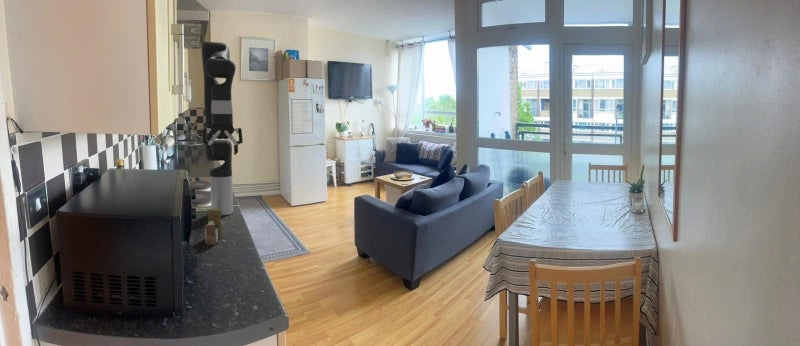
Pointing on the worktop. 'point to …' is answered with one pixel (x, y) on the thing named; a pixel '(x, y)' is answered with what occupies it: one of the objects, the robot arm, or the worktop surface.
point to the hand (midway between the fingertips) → (223, 154)
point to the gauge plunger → (215, 233)
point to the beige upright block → (210, 233)
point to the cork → (216, 219)
